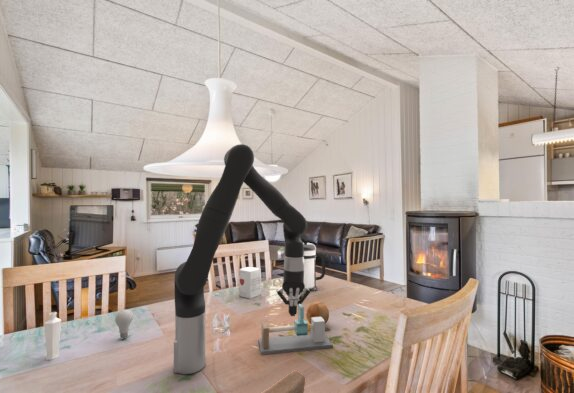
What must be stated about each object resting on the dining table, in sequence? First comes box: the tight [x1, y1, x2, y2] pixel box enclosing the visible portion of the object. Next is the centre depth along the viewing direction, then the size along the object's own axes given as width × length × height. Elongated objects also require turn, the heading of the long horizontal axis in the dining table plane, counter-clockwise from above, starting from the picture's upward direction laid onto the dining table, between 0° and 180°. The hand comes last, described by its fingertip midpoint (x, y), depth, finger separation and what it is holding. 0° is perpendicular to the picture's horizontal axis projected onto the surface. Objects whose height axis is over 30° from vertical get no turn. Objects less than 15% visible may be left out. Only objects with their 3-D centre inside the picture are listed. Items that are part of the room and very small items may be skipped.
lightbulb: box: [114, 309, 134, 340], centre depth 114 cm, size 6×6×11 cm
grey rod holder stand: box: [258, 317, 334, 355], centre depth 109 cm, size 26×10×8 cm, turn 101°
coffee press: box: [303, 238, 326, 291], centre depth 179 cm, size 17×16×30 cm
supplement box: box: [238, 266, 262, 300], centre depth 166 cm, size 9×9×15 cm
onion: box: [305, 300, 330, 325], centre depth 126 cm, size 10×10×10 cm
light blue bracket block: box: [294, 303, 309, 336], centre depth 110 cm, size 4×4×10 cm
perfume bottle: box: [43, 311, 62, 361], centre depth 101 cm, size 5×4×15 cm
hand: (292, 315), depth 110 cm, fingers closed
